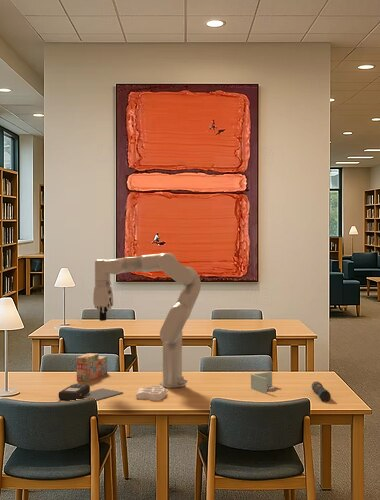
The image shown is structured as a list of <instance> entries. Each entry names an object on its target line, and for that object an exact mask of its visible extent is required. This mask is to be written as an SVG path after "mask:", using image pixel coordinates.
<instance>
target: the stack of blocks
mask: <svg viewBox="0 0 380 500" xmlns="http://www.w3.org/2000/svg"><path fill="white" fill-rule="evenodd" d="M75 360H76V381H79V382H89V381H92V380H95V379H97V378H99V377H101V376H104V375H106V374H108V357H107V356H105V355H99V353H91V352H89V353H84V354H82V355H79V356H77V357H76V359H75Z"/></svg>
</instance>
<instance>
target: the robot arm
mask: <svg viewBox="0 0 380 500" xmlns="http://www.w3.org/2000/svg"><path fill="white" fill-rule="evenodd" d="M161 271H162V272H163V273H164V274H166V275H167V276H168V277H169V278H171V279H172V280H173V281H175V282H176V283H177V284H179V285H181V286H182V289H181V292H180V293H179V296H178V297H177V300H176V302H175V304H174V305H173V306H171V308H170V309H169V311H168V313H167V314H166V317H165V320H164V322H163V324H162V326H161V328H160V330H159V339H160V340H161V341H162V381H160V382H159V385H161V386H163V388H165V389H166V388H167V389H169V388H170V389H177V388H182V387H185V386H186V385H187V383H188V380H187V379H184V378H185V377H184V375H183V356H182V355H183V329H184V327H185V326H186V323H187V321H188V319H189V318H190V316H191V313H192V310H193V309H194V306H195V305H196V302H197V299H198V297H199V294H200V293H201V288H202V287H201V285H202V284H201V283H202V282H201V278H200V276H199V274H198V272H197V271H196V270H195V268H193V267H191V266H185V265H183V263H181V262H179V261H178V260H177V257H176V255H174V254H173V253H172V252H162V253H153V254H143V255H138V256H130V257H120V258H118V257H117V258H115V259H105V258H104V259H103V258H101V259H96V260H95V261H94V288H93V294H92V295H93V305H94V309H96V310H97V311H98V313H99V321H101V322H104V321H107V313H108V311H109V310H111V309H112V307H113V306H114V294H113V288H112V286H111V285H112V282H111V275H119V274H123V273H124V274H125V273H131V272H133V273H134V272H140V273H151V272H161Z"/></svg>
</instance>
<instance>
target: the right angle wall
mask: <svg viewBox="0 0 380 500" xmlns="http://www.w3.org/2000/svg"><path fill="white" fill-rule="evenodd" d="M275 388H276V387H275V386H274V385H273V371H266V372H265V371H264V372H259V373H258V372H257V373H250V389H251V390H255V391H257V392H260V393H264V394H268V392H273V391H275Z"/></svg>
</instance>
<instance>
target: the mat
mask: <svg viewBox="0 0 380 500" xmlns="http://www.w3.org/2000/svg"><path fill="white" fill-rule="evenodd" d="M122 394H124V392H123V391H118V390H113V389H108V388H98V389H94V390H90V392H89V393H87V394H86V395H84V396H83V397H81V398H82V399H85V398H94V399H96V401H95V402H98V401H100V400H104V399H107V398H111V397H115V396H119V395H122ZM81 398H80V399H81Z"/></svg>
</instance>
